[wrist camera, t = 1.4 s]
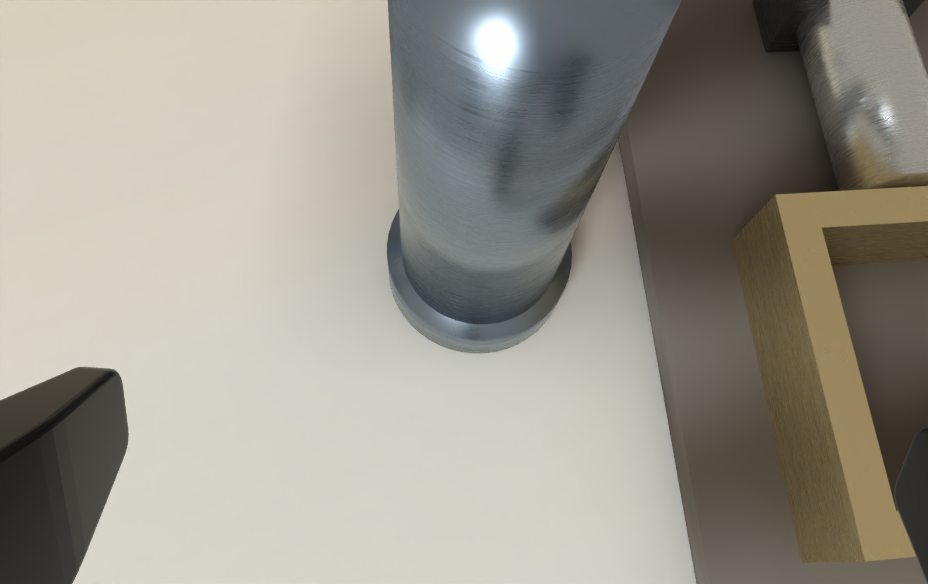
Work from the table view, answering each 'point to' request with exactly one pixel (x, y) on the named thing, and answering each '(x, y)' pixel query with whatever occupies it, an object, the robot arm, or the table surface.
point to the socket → (837, 264)
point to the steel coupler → (504, 151)
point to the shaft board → (721, 297)
